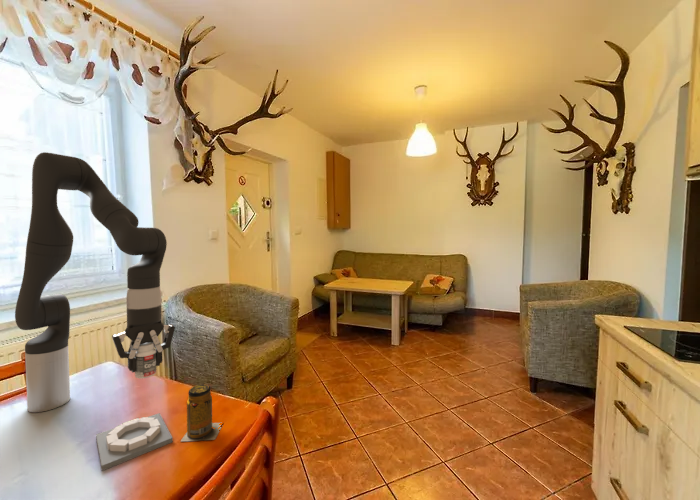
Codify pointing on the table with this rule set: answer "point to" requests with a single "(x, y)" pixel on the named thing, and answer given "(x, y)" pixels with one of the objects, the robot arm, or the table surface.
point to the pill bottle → (145, 360)
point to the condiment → (200, 415)
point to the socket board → (133, 453)
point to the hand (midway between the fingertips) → (145, 367)
